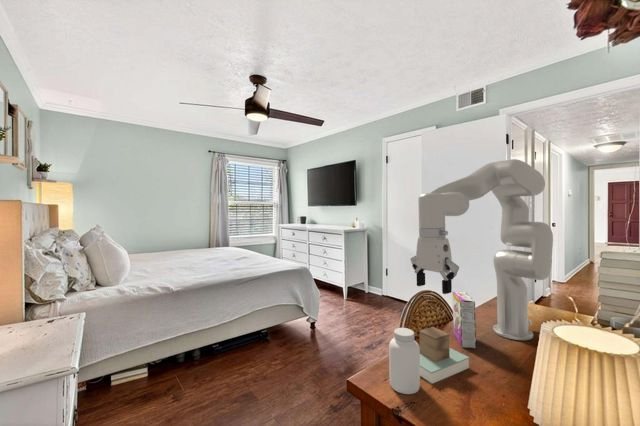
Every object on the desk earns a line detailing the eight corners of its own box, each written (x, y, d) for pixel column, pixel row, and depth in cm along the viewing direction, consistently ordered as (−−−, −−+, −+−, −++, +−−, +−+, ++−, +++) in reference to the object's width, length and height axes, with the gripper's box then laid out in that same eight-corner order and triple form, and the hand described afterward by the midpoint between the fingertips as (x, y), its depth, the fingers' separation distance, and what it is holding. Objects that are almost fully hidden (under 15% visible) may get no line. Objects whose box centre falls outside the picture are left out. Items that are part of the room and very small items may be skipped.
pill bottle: (416, 399, 72) (415, 340, 72) (385, 389, 76) (384, 333, 76) (423, 382, 79) (422, 328, 79) (394, 374, 83) (393, 323, 83)
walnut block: (433, 348, 91) (433, 326, 91) (449, 357, 86) (449, 333, 86) (419, 353, 88) (419, 330, 88) (435, 362, 83) (435, 338, 83)
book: (400, 364, 89) (400, 353, 89) (436, 351, 96) (436, 341, 96) (431, 385, 78) (431, 372, 78) (469, 368, 86) (469, 357, 86)
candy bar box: (452, 333, 109) (451, 291, 108) (466, 334, 108) (466, 291, 107) (460, 348, 98) (460, 300, 97) (476, 349, 97) (476, 301, 96)
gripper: (465, 234, 81) (467, 294, 81) (419, 231, 97) (420, 281, 97) (448, 236, 78) (449, 298, 78) (402, 232, 93) (403, 284, 93)
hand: (433, 289), depth 87 cm, fingers open, 9 cm apart
